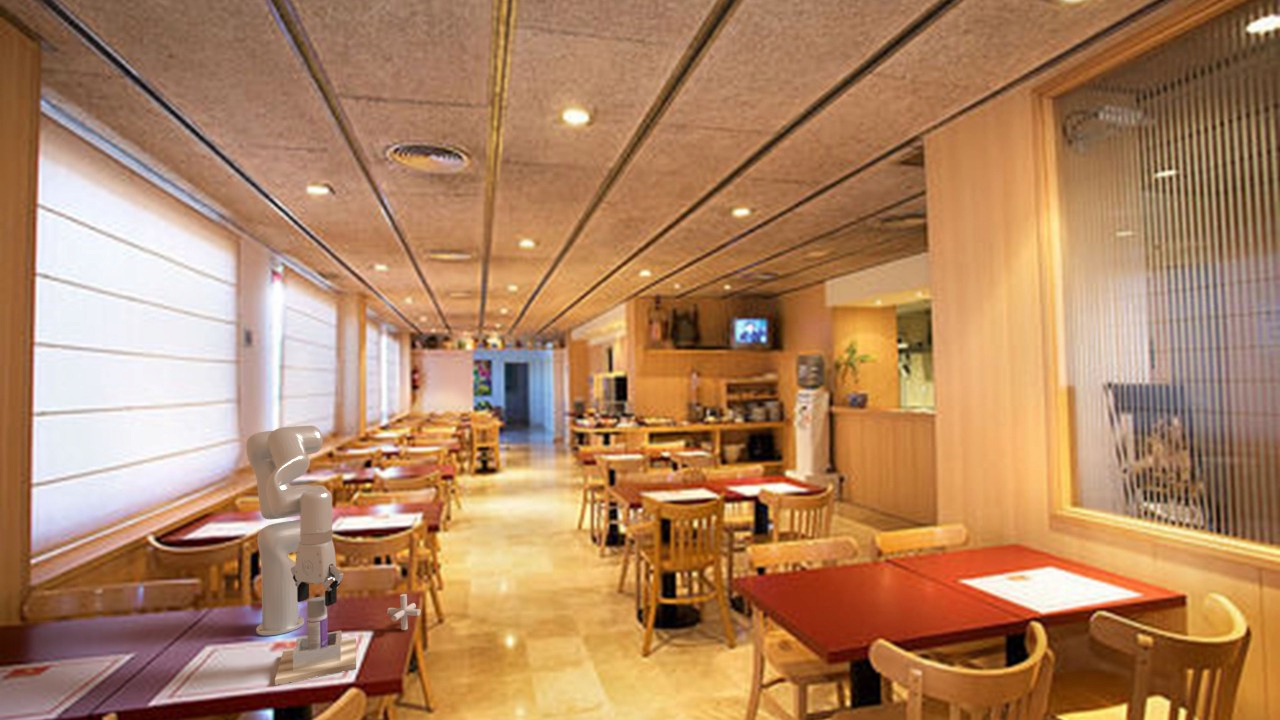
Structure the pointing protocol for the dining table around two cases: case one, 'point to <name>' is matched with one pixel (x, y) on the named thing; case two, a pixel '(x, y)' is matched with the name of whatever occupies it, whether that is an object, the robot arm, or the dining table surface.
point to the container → (317, 623)
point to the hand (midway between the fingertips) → (317, 602)
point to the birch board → (290, 675)
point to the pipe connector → (403, 611)
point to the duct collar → (317, 652)
